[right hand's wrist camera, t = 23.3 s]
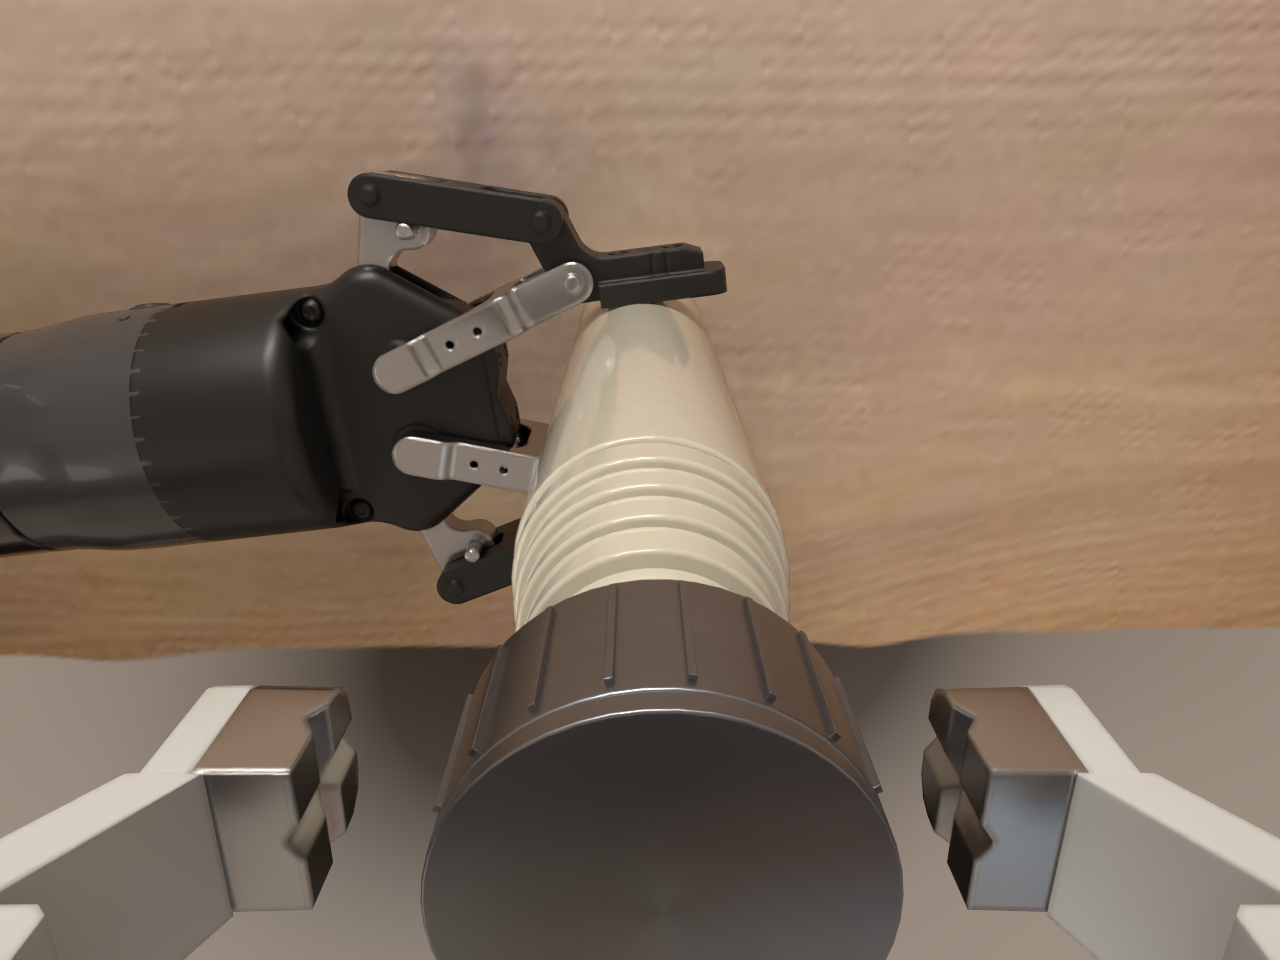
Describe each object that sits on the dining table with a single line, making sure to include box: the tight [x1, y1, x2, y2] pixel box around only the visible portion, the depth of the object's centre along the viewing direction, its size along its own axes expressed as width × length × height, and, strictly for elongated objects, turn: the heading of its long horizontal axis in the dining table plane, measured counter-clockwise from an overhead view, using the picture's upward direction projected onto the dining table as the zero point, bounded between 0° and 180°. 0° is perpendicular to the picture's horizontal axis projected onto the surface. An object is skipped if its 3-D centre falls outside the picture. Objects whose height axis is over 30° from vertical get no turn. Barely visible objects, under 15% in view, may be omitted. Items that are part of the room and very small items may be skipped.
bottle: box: [511, 298, 790, 633], centre depth 21 cm, size 5×5×26 cm
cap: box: [421, 579, 903, 960], centre depth 9 cm, size 4×4×2 cm
